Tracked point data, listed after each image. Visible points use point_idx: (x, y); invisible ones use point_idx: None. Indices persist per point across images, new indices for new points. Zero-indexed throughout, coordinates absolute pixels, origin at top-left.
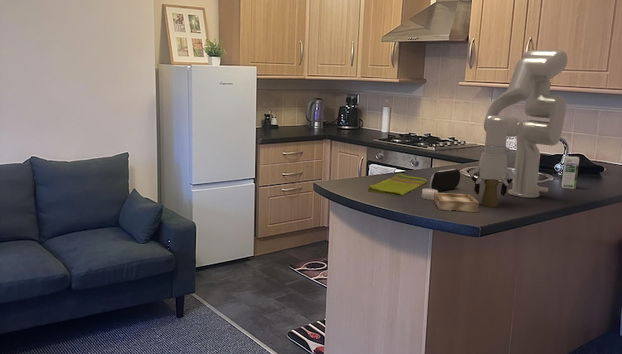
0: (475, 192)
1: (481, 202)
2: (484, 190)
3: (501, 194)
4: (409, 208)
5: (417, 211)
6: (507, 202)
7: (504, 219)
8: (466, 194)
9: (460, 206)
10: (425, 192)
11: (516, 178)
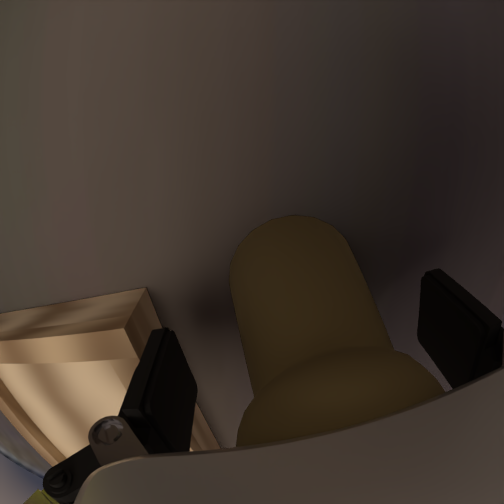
0: (154, 331)
1: (231, 293)
2: (247, 366)
3: (420, 303)
4: (7, 434)
5: (41, 459)
6: (443, 111)
7: None
8: (92, 340)
9: None
10: None
11: None
